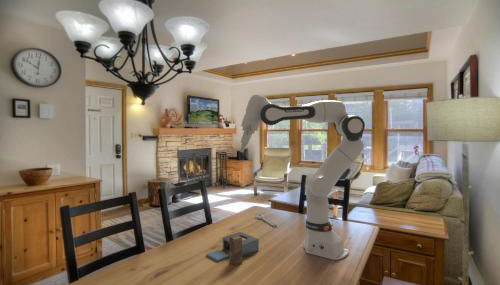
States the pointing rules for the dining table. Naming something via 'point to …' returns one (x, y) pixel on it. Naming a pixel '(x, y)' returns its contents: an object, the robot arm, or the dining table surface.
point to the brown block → (235, 250)
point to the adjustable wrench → (265, 220)
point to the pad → (217, 255)
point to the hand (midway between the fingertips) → (242, 151)
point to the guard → (243, 243)
